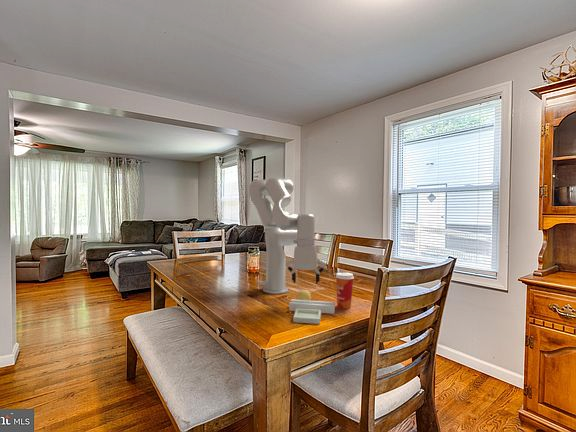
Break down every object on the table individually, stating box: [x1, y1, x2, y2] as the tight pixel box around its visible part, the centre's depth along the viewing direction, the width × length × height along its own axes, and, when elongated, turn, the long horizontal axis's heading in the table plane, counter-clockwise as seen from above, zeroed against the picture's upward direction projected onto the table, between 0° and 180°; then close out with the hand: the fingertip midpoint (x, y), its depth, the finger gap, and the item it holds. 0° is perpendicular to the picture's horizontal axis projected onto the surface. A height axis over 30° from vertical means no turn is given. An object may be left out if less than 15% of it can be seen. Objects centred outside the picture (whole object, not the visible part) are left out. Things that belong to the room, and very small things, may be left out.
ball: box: [296, 289, 312, 301], centre depth 129 cm, size 6×6×6 cm
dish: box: [292, 308, 322, 325], centre depth 113 cm, size 10×10×2 cm
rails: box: [288, 298, 336, 315], centre depth 122 cm, size 18×5×3 cm, turn 81°
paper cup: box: [335, 272, 355, 310], centre depth 126 cm, size 8×8×14 cm
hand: (305, 282), depth 128 cm, fingers open, 9 cm apart
